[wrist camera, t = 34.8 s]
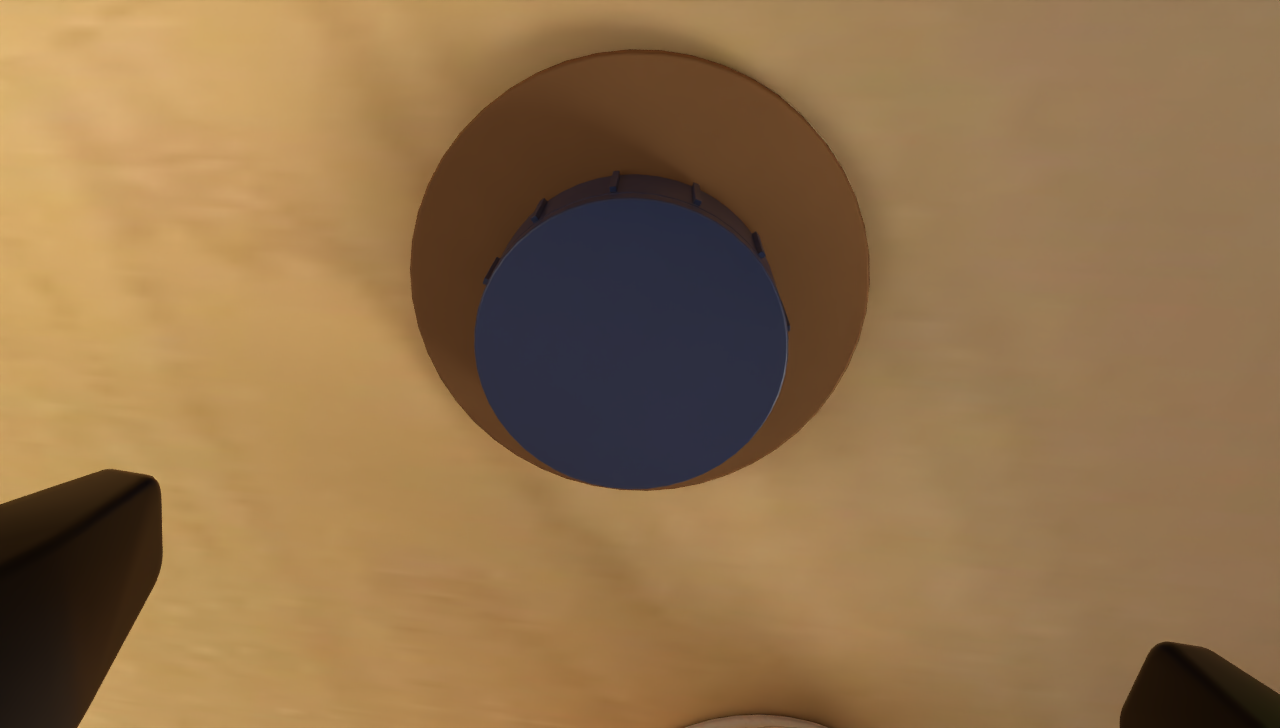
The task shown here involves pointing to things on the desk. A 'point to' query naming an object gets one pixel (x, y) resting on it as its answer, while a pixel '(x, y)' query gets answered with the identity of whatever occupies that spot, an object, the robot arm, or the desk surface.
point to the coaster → (657, 146)
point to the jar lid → (632, 333)
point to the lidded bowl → (756, 722)
